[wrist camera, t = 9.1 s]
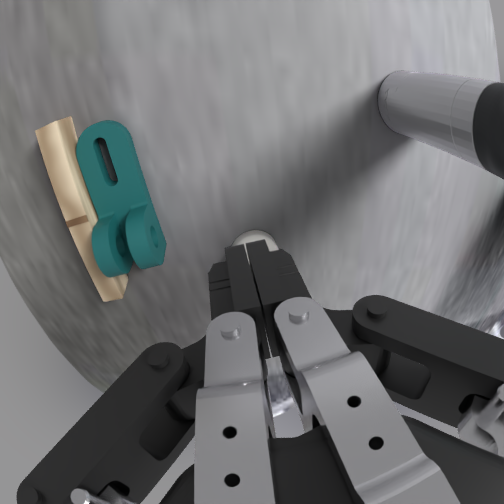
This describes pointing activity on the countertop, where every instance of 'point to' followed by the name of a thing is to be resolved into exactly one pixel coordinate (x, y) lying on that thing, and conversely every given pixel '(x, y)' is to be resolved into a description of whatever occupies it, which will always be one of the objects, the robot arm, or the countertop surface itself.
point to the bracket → (119, 202)
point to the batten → (75, 199)
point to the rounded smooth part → (256, 239)
